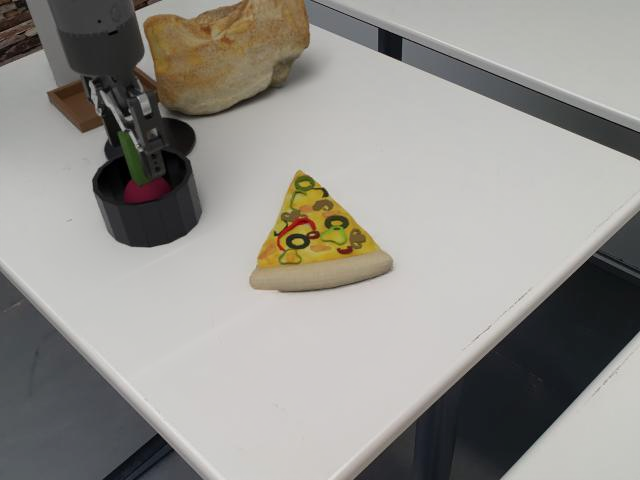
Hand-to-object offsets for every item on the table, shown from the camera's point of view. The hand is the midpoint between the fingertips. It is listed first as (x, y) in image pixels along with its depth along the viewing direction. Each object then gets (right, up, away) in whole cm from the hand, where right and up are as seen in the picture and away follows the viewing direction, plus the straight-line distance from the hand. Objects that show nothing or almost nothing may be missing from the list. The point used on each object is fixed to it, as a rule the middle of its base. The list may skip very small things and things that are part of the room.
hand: (138, 159), depth 77 cm
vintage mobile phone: (-17, +19, +30) cm, 40 cm away
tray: (-11, +14, +26) cm, 31 cm away
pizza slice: (+19, -7, +4) cm, 21 cm away
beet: (0, -5, +6) cm, 8 cm away
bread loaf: (+6, +18, +27) cm, 33 cm away
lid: (-3, +6, +16) cm, 18 cm away
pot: (0, -6, +6) cm, 9 cm away
